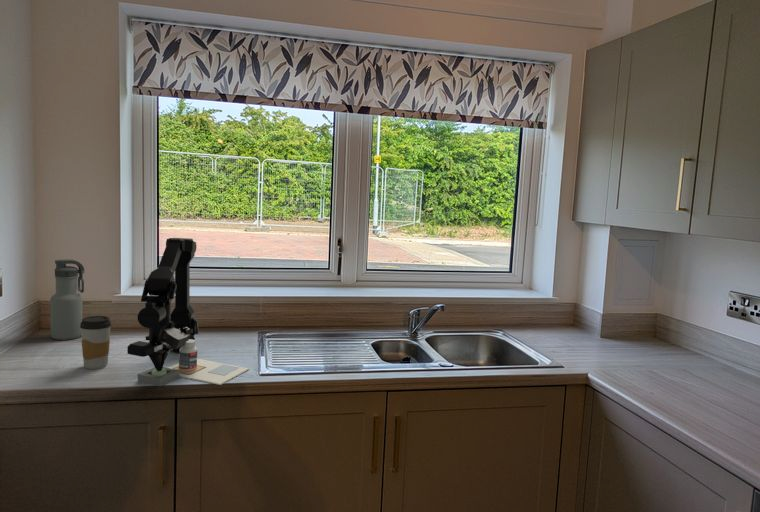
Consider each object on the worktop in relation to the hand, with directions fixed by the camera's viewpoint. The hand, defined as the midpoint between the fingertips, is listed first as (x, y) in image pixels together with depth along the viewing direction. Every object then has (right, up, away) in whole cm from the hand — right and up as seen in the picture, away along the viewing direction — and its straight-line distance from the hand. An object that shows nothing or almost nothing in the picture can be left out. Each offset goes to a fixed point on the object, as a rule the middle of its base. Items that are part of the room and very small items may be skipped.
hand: (159, 370), depth 148 cm
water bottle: (-48, +4, +35) cm, 60 cm away
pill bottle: (+5, -2, +9) cm, 10 cm away
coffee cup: (-23, -1, +8) cm, 24 cm away
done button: (0, -3, 0) cm, 3 cm away
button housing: (0, -3, 0) cm, 3 cm away
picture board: (+10, -2, +9) cm, 14 cm away
